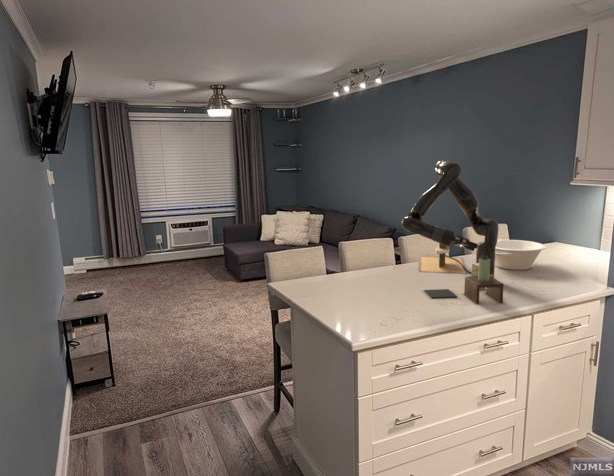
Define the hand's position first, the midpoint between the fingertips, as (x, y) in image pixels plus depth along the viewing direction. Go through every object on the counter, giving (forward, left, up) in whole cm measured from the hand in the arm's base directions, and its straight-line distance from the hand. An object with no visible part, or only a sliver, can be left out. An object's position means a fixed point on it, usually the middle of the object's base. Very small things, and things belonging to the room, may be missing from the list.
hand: (475, 247), depth 201 cm
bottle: (+6, +2, -14) cm, 15 cm away
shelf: (+6, +2, -23) cm, 24 cm away
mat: (-3, -15, -23) cm, 28 cm away
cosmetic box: (-11, +7, -23) cm, 27 cm away
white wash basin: (-51, +45, -23) cm, 72 cm away
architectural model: (-62, +6, -23) cm, 67 cm away
